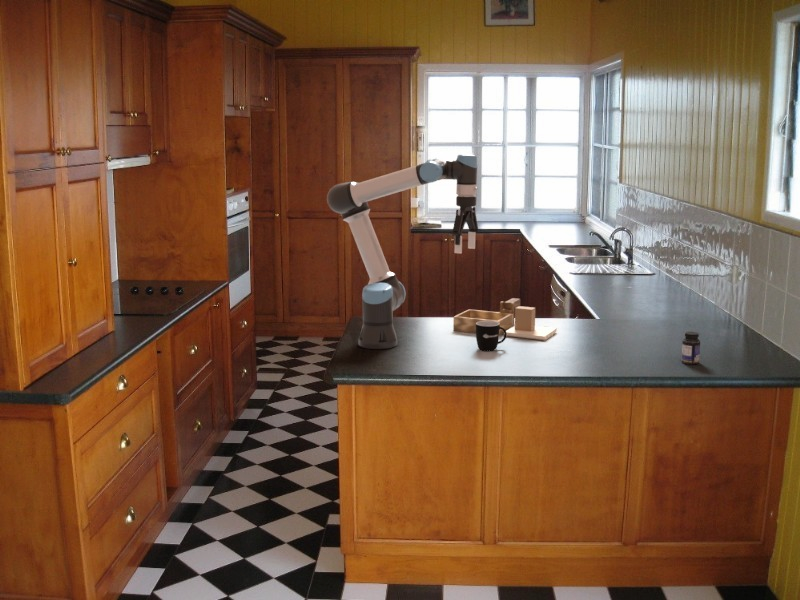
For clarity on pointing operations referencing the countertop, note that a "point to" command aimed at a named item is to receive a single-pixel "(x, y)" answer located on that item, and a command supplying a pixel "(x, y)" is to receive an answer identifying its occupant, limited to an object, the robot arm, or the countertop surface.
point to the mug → (488, 335)
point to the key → (515, 300)
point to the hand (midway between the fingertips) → (464, 250)
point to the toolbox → (484, 319)
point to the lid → (528, 325)
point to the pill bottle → (691, 348)
